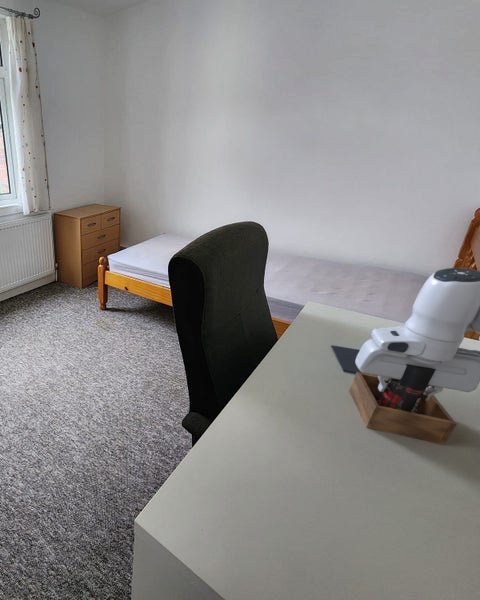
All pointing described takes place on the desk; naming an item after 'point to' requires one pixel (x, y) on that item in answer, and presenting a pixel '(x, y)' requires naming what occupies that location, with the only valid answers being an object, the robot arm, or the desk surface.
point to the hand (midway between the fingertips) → (401, 394)
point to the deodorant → (407, 388)
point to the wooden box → (400, 413)
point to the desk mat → (347, 359)
